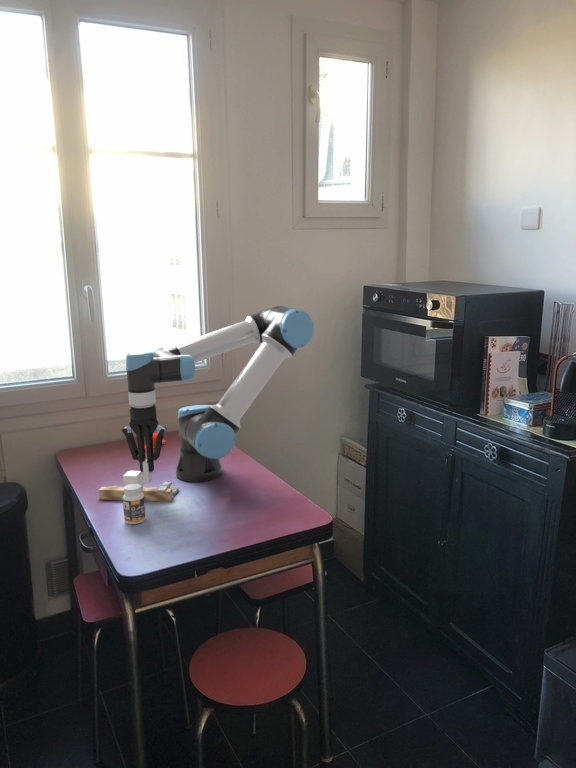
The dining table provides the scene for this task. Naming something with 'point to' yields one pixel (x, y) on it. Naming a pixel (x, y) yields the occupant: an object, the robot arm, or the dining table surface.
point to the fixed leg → (165, 486)
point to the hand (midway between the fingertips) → (148, 481)
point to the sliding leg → (133, 478)
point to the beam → (149, 493)
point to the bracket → (155, 439)
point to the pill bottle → (134, 504)
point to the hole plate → (174, 489)
